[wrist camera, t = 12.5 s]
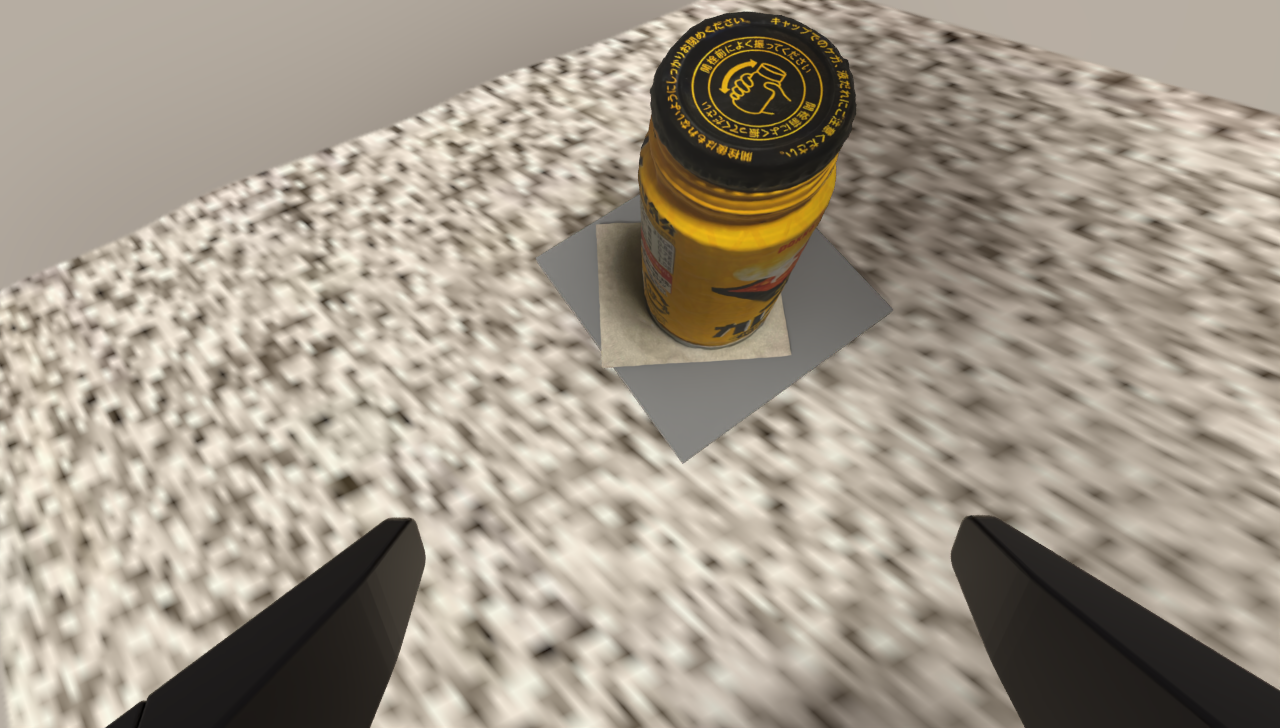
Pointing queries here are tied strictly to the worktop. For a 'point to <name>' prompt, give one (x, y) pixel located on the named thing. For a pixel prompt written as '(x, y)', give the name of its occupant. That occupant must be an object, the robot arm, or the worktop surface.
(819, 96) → the condiment
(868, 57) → the worktop surface
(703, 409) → the mat
